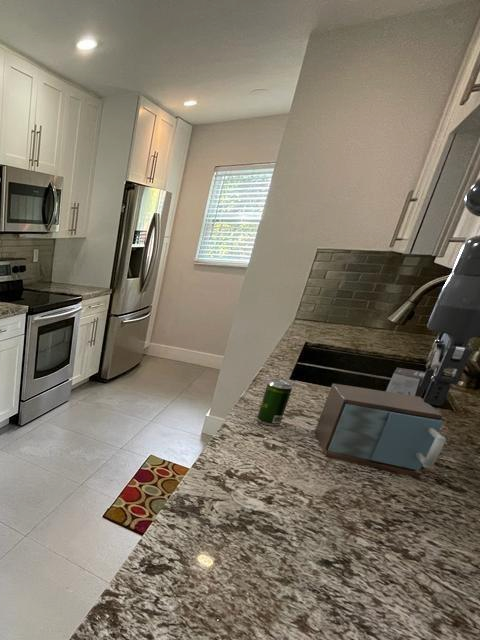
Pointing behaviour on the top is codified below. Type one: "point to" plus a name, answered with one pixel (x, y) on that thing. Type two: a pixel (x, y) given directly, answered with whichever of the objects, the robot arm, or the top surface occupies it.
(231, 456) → the top surface
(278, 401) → the beer can
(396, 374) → the coffee box
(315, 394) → the top surface
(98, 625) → the top surface
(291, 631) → the top surface
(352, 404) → the display cabinet
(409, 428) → the glass door
